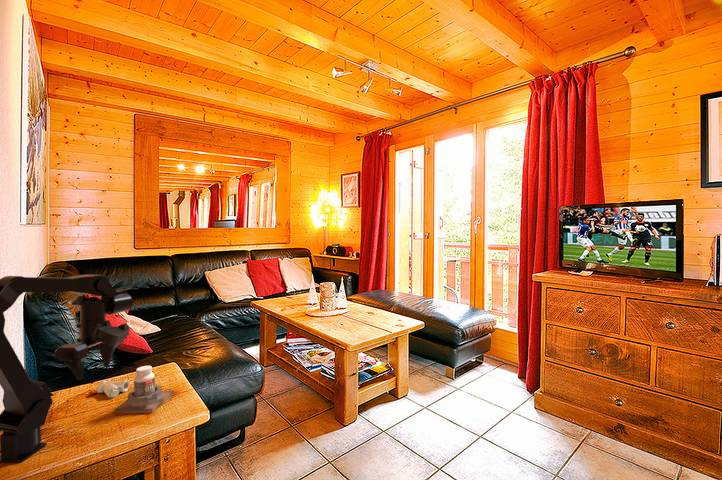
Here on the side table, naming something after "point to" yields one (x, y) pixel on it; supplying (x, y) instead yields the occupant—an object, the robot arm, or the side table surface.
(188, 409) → the side table surface
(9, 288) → the robot arm
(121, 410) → the collar base
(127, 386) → the pipe fitting
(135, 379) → the pill bottle
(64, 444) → the side table surface
